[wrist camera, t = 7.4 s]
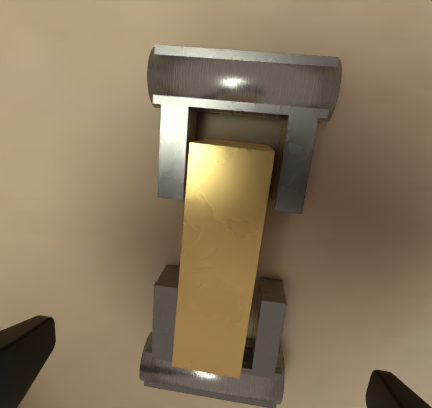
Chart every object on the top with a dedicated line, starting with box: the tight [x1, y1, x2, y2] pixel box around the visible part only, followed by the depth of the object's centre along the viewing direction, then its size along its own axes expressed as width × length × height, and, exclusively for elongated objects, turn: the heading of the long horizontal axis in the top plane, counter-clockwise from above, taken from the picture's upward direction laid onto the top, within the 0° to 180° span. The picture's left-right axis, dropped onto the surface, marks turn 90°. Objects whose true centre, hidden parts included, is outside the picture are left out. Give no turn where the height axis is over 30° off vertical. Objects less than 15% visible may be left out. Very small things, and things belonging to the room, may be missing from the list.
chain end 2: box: [140, 265, 286, 408], centre depth 18 cm, size 7×8×3 cm
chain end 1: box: [147, 45, 342, 214], centre depth 15 cm, size 7×8×3 cm
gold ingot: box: [172, 138, 275, 379], centre depth 16 cm, size 11×3×5 cm, turn 174°
